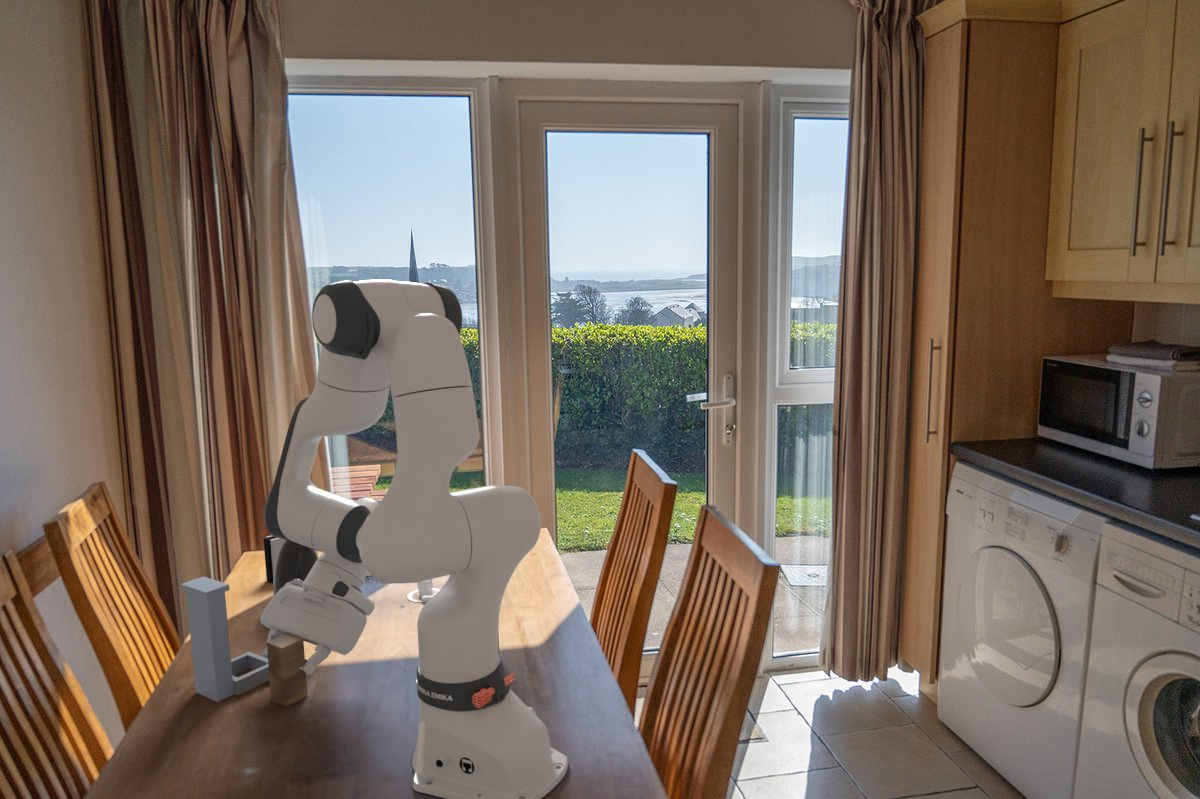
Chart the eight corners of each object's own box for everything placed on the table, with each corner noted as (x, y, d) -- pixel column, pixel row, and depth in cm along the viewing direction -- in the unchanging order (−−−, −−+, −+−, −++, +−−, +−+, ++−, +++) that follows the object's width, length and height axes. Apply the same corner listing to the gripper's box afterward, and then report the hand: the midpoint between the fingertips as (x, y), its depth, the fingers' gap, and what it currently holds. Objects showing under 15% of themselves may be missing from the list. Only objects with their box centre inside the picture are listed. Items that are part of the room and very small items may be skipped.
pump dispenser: (310, 618, 173) (305, 545, 171) (264, 614, 175) (258, 542, 173) (336, 598, 183) (332, 529, 180) (292, 595, 185) (287, 526, 183)
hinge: (316, 563, 205) (313, 522, 203) (330, 568, 202) (327, 526, 200) (263, 581, 194) (260, 537, 192) (277, 586, 191) (274, 542, 189)
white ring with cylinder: (440, 605, 179) (439, 587, 179) (401, 606, 180) (400, 587, 179) (448, 589, 188) (447, 572, 187) (411, 590, 188) (410, 572, 188)
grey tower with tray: (279, 675, 149) (270, 570, 146) (218, 704, 140) (208, 593, 137) (250, 664, 153) (241, 562, 150) (189, 692, 144) (178, 583, 141)
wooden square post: (307, 696, 142) (303, 638, 140) (287, 706, 139) (282, 648, 137) (291, 689, 144) (287, 633, 143) (271, 700, 141) (266, 642, 139)
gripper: (279, 568, 150) (233, 642, 144) (360, 592, 139) (314, 673, 133) (302, 584, 155) (258, 657, 148) (382, 608, 144) (339, 688, 137)
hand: (285, 665), depth 140 cm, fingers open, 8 cm apart
